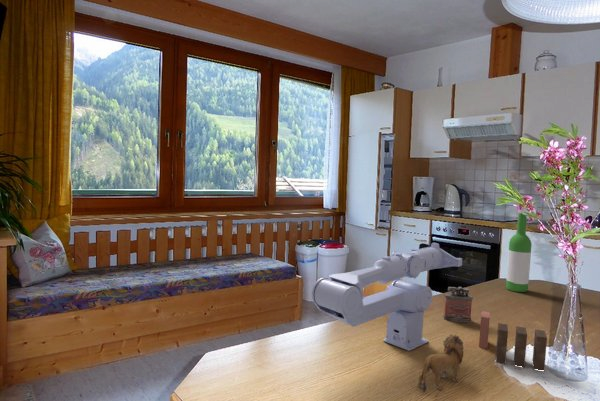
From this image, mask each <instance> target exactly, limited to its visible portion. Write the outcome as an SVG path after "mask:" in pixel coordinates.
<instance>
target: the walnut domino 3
mask: <svg viewBox="0 0 600 401" xmlns="http://www.w3.org/2000/svg"><path fill="white" fill-rule="evenodd" d="M547 336H548V335H547V334H546V330H543V329H536V328H535V329H534V338H533V339H534V340H533V351H532V352H533V353H532V361H533V362H532V366H533V365H534V366H533V370H534V369H538V370H544V371H545V367H546V366H545V365H546V357H547V356H546V354H547V342H548V337H547Z"/></svg>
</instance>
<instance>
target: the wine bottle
mask: <svg viewBox="0 0 600 401" xmlns="http://www.w3.org/2000/svg"><path fill="white" fill-rule="evenodd" d="M522 213H523V212H519V213H518V216H517V226H516V233H515V234H514V235H512V236H511V237H510V239H509V241H508V242H509V243H508V254H507V255H508V256H507V264H506V265H507V267H506V280H505V281H506V282H505V287H506V289H507V290H509V291H512V292H515V293H525V292H527V291H528V289H529V282H530V281H529V280H530V269H531V256H532V255H531V254H532V241H531V238H529V236H528V235H527V233H526V232H527V231H526V230H527V217H528V216H527V217H526V216H525V215H523V214H522Z"/></svg>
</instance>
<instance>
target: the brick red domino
mask: <svg viewBox="0 0 600 401" xmlns="http://www.w3.org/2000/svg"><path fill="white" fill-rule="evenodd" d="M480 313H481V315H480V329H479V342H478V348H483V349H488V344H489V333H490V332H489V330H490V317H491V316H490V315H491V314H490V311H483V310H482V311H481V312H480Z"/></svg>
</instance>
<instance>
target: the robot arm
mask: <svg viewBox="0 0 600 401" xmlns="http://www.w3.org/2000/svg"><path fill="white" fill-rule="evenodd" d="M465 258H466V252H464V251H460V250H458V249H453V248H451V254H450V253H448V252H447V251H445V250H444V249H443V248H441V247H440V244H439V242H438V243H437V242H432V243H431V245H429V244H427V243H422V242H421V243H420V244H419V246H418V248H412V249H411V250H410V251H409V252H401V251H393V252H392V253H391V254H390V256H388V255H384V256H382V259H379V260H376V261H375V262H374V263H373V266H371V267H367V268H362V269H356V270H352V271H349V272H343V273H342V272H341V273H335V274H334V273H333V274H329V275H328V277H321V278H319V279H317V280H316V282H314V284H313V287H312V290H311V299H312V302H313V303H314V304H315V307H317V310H320V311H321V312H323V313H325V314H327V315H329V316H330V317H332V318H334V319H336V320H338V321H339V322H340V323H342V324H346V325H348V326H351V327H357V326H360V325H362V324H364V323H368V322H370V321H373V320H376V319H378V318H381V317H383V316H386V315H388V317H387V320H386V321H387V322H386V332H385V333H386V334H385V338H383V339H382V340H383V342H385V343H388V344H390V345H393V346H395V347H398V348H401V349H403V350H406V351H411V350H414V349H416V348H418V347H420V346H423V345H425V344H426V343H428V342H430V340H429V339H427V338H424V337H423V331H424V330H423V329H424V313H425V311H427V309H429V307H430V306H431V304H432V301H433V291H432V289H431V287H430V286H428V285H422V284H419V283H415V282H412V281H411V282H410V281H407V280H403V279H402V278H410V279H411V278H413V280H416V279H417V278H418V276H419V275H420V273H424V272H426V271H431V270H435V269H437V270H438V269H443V268H449V271H454V272H455V271H459V270H460V267H462V266H463V262H464V261H465V260H466V259H465ZM377 282H378V283H380V284H382V285H384V284H388V285H386V288H385V290H382V291H380V292H377V293H373V294H371V295H367V296H364V288H367V287H368V286H371V285H373V284H375V283H377ZM389 283H390V284H389Z"/></svg>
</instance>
